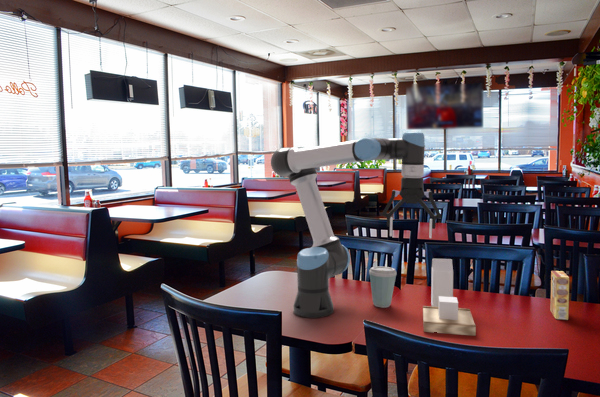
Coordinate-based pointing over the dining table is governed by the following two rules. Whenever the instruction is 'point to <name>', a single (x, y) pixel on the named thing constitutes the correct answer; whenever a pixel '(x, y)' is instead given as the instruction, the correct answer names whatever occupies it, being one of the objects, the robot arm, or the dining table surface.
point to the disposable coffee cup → (382, 285)
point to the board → (448, 322)
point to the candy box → (559, 295)
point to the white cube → (448, 308)
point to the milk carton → (441, 280)
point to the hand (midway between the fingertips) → (410, 236)
